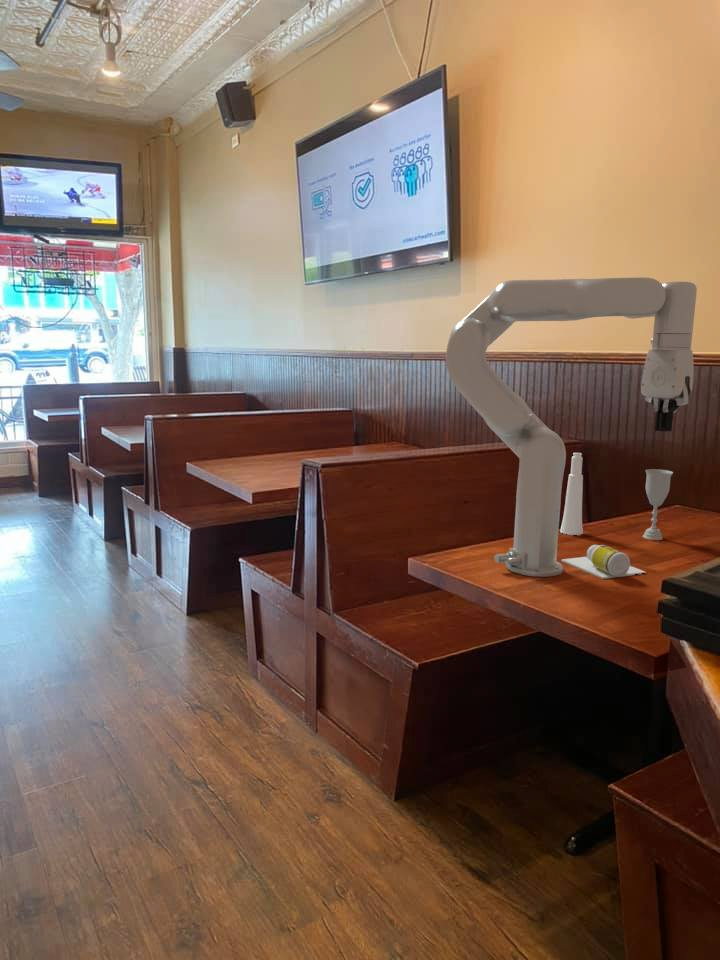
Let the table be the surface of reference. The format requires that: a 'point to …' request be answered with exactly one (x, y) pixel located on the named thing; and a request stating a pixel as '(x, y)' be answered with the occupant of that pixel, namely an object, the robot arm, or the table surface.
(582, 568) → the mat
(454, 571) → the table surface
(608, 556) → the supplement bottle
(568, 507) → the cosmetic bottle
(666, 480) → the chalice
